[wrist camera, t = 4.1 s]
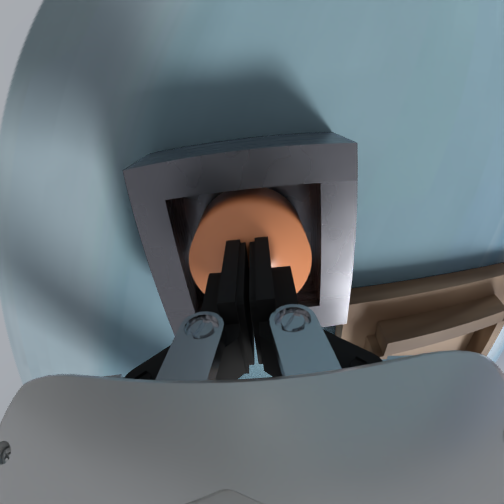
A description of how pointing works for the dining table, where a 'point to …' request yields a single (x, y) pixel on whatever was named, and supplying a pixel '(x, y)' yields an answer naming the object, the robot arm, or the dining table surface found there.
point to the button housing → (249, 177)
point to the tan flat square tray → (428, 314)
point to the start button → (250, 233)
